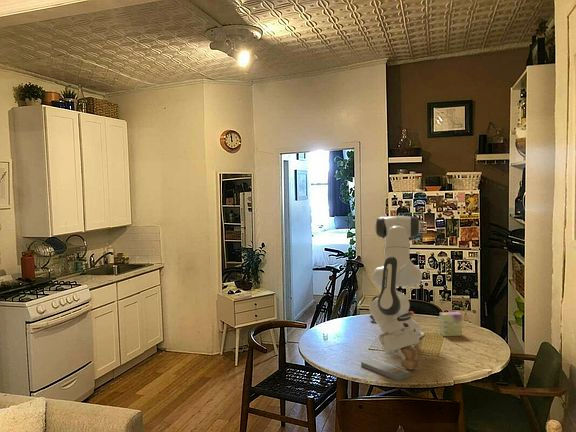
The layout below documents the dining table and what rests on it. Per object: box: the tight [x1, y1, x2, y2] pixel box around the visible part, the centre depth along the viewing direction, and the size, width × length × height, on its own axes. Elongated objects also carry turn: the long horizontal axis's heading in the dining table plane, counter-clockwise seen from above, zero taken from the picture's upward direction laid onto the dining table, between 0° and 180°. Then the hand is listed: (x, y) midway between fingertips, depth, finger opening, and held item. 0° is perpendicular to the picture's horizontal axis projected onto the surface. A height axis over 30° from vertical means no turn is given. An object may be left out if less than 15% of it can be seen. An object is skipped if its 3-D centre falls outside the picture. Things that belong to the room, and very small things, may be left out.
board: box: [360, 357, 412, 382], centre depth 204 cm, size 8×22×2 cm, turn 36°
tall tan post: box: [400, 346, 419, 371], centre depth 204 cm, size 5×5×8 cm
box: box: [438, 311, 463, 337], centre depth 252 cm, size 10×6×12 cm, turn 92°
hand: (410, 357), depth 204 cm, fingers closed on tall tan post, 5 cm apart
